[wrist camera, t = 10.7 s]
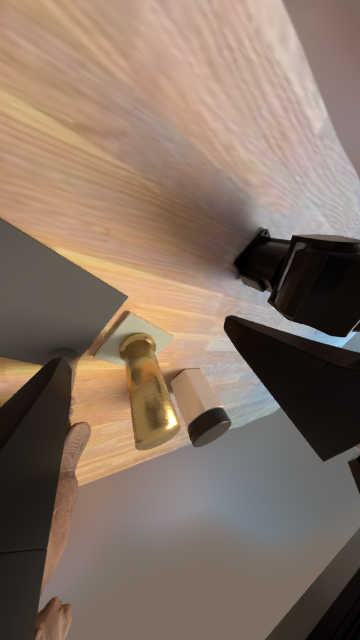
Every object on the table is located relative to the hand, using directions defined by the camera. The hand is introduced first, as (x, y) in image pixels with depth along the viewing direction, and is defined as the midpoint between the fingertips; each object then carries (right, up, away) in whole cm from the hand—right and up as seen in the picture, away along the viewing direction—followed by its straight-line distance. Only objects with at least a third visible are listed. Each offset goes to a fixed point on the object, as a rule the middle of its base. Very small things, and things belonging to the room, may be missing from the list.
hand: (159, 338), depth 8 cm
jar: (+3, -13, +28) cm, 31 cm away
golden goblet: (-6, -3, +16) cm, 17 cm away
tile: (-6, -3, +16) cm, 18 cm away
